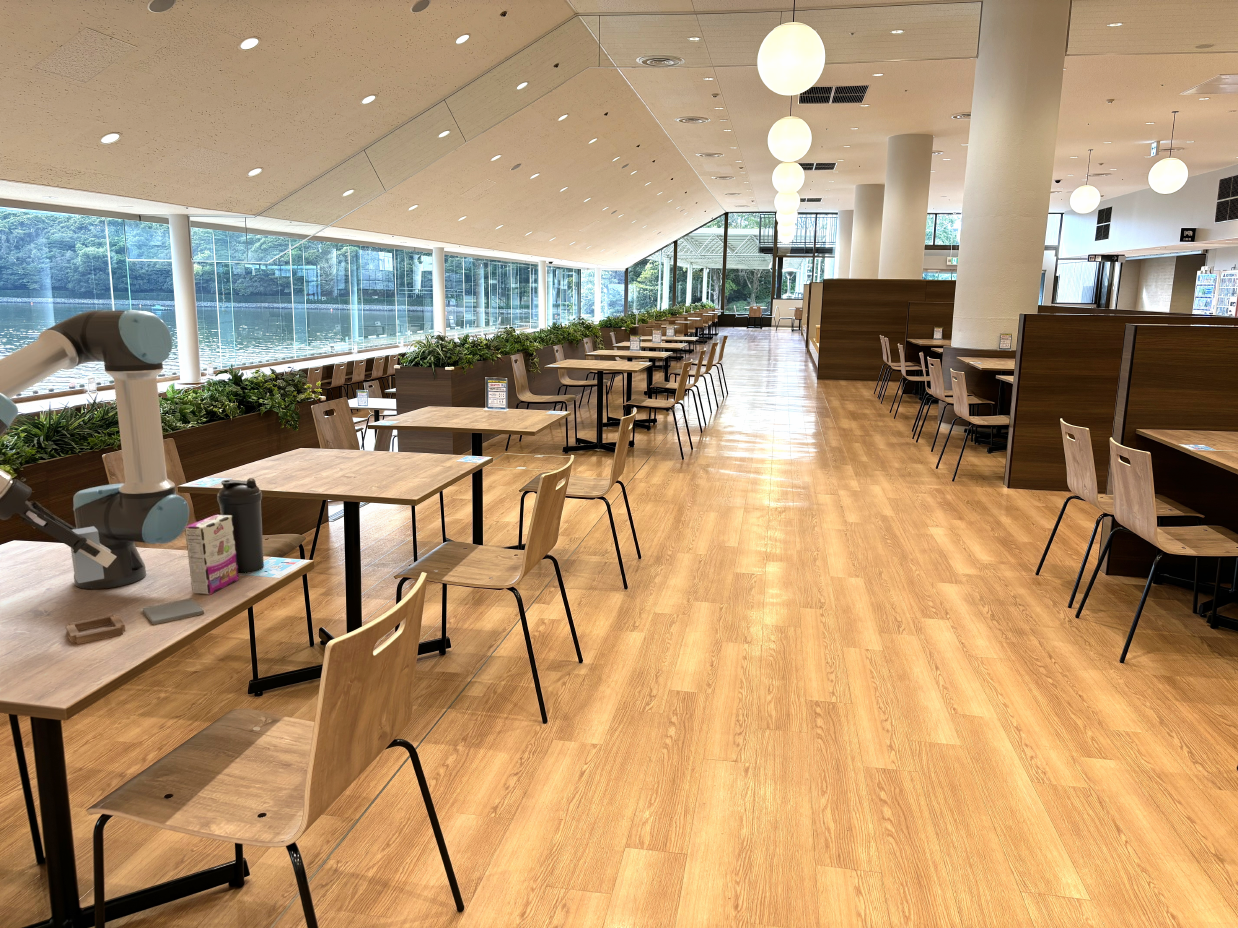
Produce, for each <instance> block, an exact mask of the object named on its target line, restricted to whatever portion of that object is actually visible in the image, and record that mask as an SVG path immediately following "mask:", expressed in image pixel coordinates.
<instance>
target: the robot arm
mask: <svg viewBox="0 0 1238 928" xmlns="http://www.w3.org/2000/svg"><path fill="white" fill-rule="evenodd" d="M172 350H173V338H172V334H171V332H170V329H169V327H168V325H167V323H166V322H165V321H163V320H162V319H161V317H159V316H157V315H156V314H154V313H152V312H150V311H145V310H143V311H142V310H135V309H129V310H127V309H126V310H103V309H101V310H99V309H98V310H97V309H96V310H94V309H93V310H89V311H85V312H82V313H79V314H76V315H74V316H72V317H70V318H66V319H64V320H63V321H60V322H58V323H56V324H55V325H52V326H51V327H49V328H47V329H45V330H43V331H42V332H40V334H39V335H38V338H37V340H35V341H33V342H31V343H29V344H28V345H25V346H24V347H22V348H20V349H18V350H16V351H15V352H12V353H11V354H10V353H9V355H7V356H5V357H3V358H1V359H0V437H1V436H3V434H4V433H5V432H6V431H7V430H8V429H9V428H10V427H11V424H12V423H13V421H14V420H15V419H16V417H17V416H18V413H19V410H18V409H19V408H18V407H17V405H16V403H15V402H14V401H13V400H12V398H13V397H15V396H17V395H19V394H21V393H23V392H24V391H26V390H28V389H29V388H31V387H33V386H34V385H36V384H38V383H39V382H42V381H43V380H45V379H47V378H48V377H50V376H51V375H53V374H56V373H57V372H59V371H61V370H64V371H66V370H72V369H74V368H76V367H78V366H80V365H83V364H86V363H87V364H88V363H95V362H103V365H104V366H103V367H104V372H105V373H106V374H108V375H109V376H110V377H112V379H113V383H114V385H113V386H114V393H115V401H116V408H117V419H118V429H119V435H120V444H121V445H120V446H121V453H122V462H123V469H124V470H123V471H124V480H125V482H123V483H112V484H105V485H100V486H95V487H89V488H86V489H82V490H79V491H77V492H75V494H74V495H73V500H72V501H73V508H72V511H73V515H74V523H75V526H74V525H71V524H70V523H68V522H67V521H65V520H62V519H61V518H59V517H58V516H57V515H55V514H54V513H52V512H51V511H50V510H48V509H47V508H45V507H43V505H42V504H40V503H39V502H37V501H32V500H31V501H28V500H29V498H30V497H31V495H32V492H33V489H32V488H31V487H30V486H29V485H27V484H26V483H24V482H22V481H21V480H20V479H17V478H12V475H11V474H9V473H8V472H7V471H5V470H4V469H2V468H0V520H2V521H5V520H8V519H10V518H11V517H13V516H14V515H15V514H18V515H19V519H21V521H22V522H23V523H24V524H27V525H29V526H31V527H34V528H36V529H37V530H39V531H41V532H44V533H45V534H47V535H49V536H51V537H52V538H54V539H56V540H58V541H59V542H61V543H63V544H65V545H66V546H68V547H69V548H70V549H71V548H73V550H74V551H73V553H75V554H76V553H77V551H79V552H81V553H83V554H84V555H86V556H88V557H90V558H91V559H93V560H95V561H96V562H98V563H100V564H101V565H103V572H104V579H99V580H93V581H88V582H83V583H78V582H77V580H76V579H75V575H74V574H73V581H74V583H73V584H74V586H75V587H77V588H80V589H85V590H86V589H88V590H101V589H110V588H111V589H112V588H116V587H122V586H126V585H129V584H133V583H136V582H138V581H140V580H143V578H145V577H146V576H147V568H146V564H145V562H144V561H143V558H142V557H141V555H140V552H139V550H138V549H137V547H136V545H135V544H136V543H144V544H149V545H156V544H159V545H160V544H162V545H163V544H168V543H169V544H170V543H171V542H173V541H175V540H176V539H178V538H179V537H180V536H181V535H182V533H183V532H184V531H185V527H186V526H188V522H189V518H190V507H189V505H188V502H187V500H185V498H184V497H183V496H180V495H179V494H177V493H176V491H177V490H176V485H175V484H176V483H174V481H172V480H171V479H169V478H168V475H167V467H166V466H167V465H166V454H165V448H164V446H165V445H164V438H163V427H162V418H161V408H160V407H161V406H160V398H159V389H158V381H157V379H158V378H157V377H158V376H159V375H160V374H161V372H162V371H163V370H164V366H163V362H165V361H166V360H167V359H168V358H169V357H170V353H171V352H172ZM93 526H94V527H95V528H96V529H97V530H98V534H99V542H100V546H98V545H97V544H95V543H93V542H92V541H90V540H88V539H86V538H83V537H81V536H80V535H78V534H77V533H75V532H73V531H72V530H73V529H80V528H86V527H93ZM135 542H136V543H135Z"/></svg>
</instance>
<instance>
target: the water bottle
mask: <svg viewBox="0 0 1238 928" xmlns="http://www.w3.org/2000/svg"><path fill="white" fill-rule="evenodd" d="M220 484H221V485H222V487H221V488H220V489H219V491H218V493H217V495H216V498H217V499H216V500H217V502H218V504H219V510H220V511H219V512H220V515H231V516H232V520H233V529H234V538H235V548H236V558H237V566H238V575H241V574H248V573H249V574H250V573H254V572H258V571H260V570H262V569H263V568H264V567H265V564H264V563H265V562H264V560H265V559H264V544H263V542H264V541H263V524H262V523H263V521H262V502H261V501H262V499H263V492H262V490H261V489H260V487H258V485H257V483H256V480H255V478H253V477H249V478H247V480H239V479H222V480H221V483H220Z"/></svg>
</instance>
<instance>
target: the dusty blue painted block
mask: <svg viewBox="0 0 1238 928" xmlns="http://www.w3.org/2000/svg"><path fill="white" fill-rule="evenodd" d="M72 531H73V532H75V533H77V534H78V535H80V536H81V537H83V538H86V539H88V540H90V541H92V542H93V543H95V544H97V545H98V546H100V542H99V534H98V530H97V529H96V528H95V527H94V526H93V527H86V528H80V529H73V530H72ZM73 551H74V550H73V548H71V547H70V552H71V558H72V565H73V566H72V568H73V576H74V575H75V579H76V580H77V582H78V583H83V582H88V581H93V580H99V579H104V572H103V565H101V564H100V563H98V562H96V561H95V560H93V559H91V558H90V557H88V556H86V555H84V554H83V553H81V552H79V551H77V553H76V554H75V553H73Z"/></svg>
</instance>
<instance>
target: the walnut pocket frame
mask: <svg viewBox="0 0 1238 928" xmlns="http://www.w3.org/2000/svg"><path fill="white" fill-rule="evenodd" d="M108 625H111V626H110V627H106V628H102V629H97V630H96V629H95V630H93V631H92V630H91V631H88V632H83V633H80V631H84V630H87V629H88V630H89V629H94V628H98V627H104V626H108ZM65 630H66V635H67V637H68V639H69V641H70V642H71V644H72V643H73V644H74V643H76V644H77V645H80V644H85V643H90V642H95V641H100V640H102V639H103V640H104V639H107V638H108V639H109V638H112V637H117V636H123V635H124V632H126V624H125V622H124V621H123V620H122V619H121V618H120V616H119V615H114V614H108V615H103V616H99V617H98V616H97V617H95V618H94V617H93V618H89V619H83V620H79V621H73V622H70V623H68V625H66V626H65Z"/></svg>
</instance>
